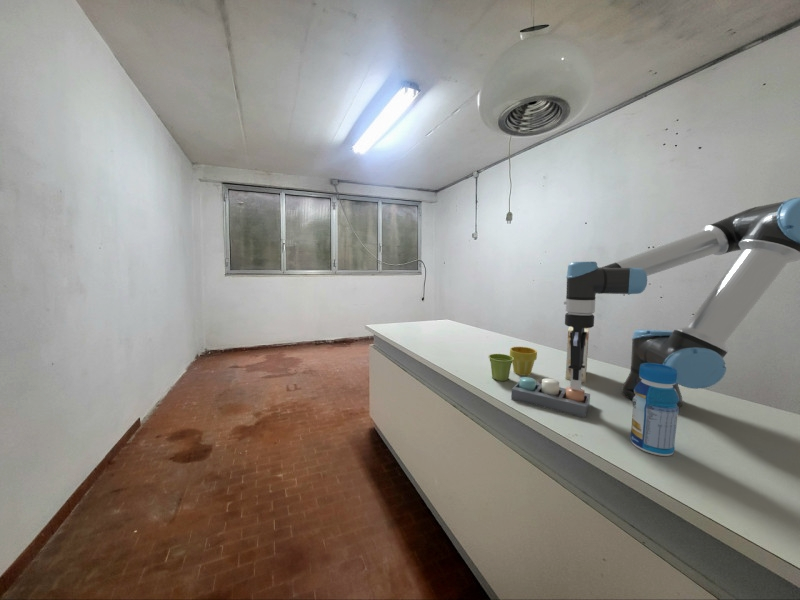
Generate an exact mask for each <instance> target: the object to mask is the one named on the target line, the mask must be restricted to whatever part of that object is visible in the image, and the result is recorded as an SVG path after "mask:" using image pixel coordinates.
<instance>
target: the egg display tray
mask: <svg viewBox="0 0 800 600" xmlns="http://www.w3.org/2000/svg"><path fill="white" fill-rule="evenodd" d="M519 384H520V380H519V381H518V382H517V383H516V384H515V385H514V386H513V387H512V388H511V396H510V397H511V398H510V399H511V400H513V401H518V402H520V403H525V404H528V405H529V404H530V405H533V406H536V407H541V408H544V409H548V410H552V411H556V412H561V413H564V414H567V415H572V416H576V417H580V418H583V419H585V418H586V416H587V413H588V410H589V408H590V401H591V393H587V392H585V395H584V403H583V402H578V401H574V400H570V399H565V397H566V387H560V386H559V396H558V397H557V396H552V395H548V394H544V393H541V391H542V382H541V383H540V382H536V387H535V391H531V390H526V389H522V388H519Z"/></svg>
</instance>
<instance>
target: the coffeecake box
mask: <svg viewBox="0 0 800 600" xmlns="http://www.w3.org/2000/svg"><path fill="white" fill-rule="evenodd" d="M589 329H590V328H584V332H587V337H586V340H585V346H584V356H583V364H582V365H583V366H585V368H581V369H582V381H581V383H586V381H587V366H588V350H589V335H590V334H589V332H590V331H589ZM572 331H573V327H569V326H568V329H567V343H566V344H567V345H566V346H567V348H566V364H565V377H564V378H565V380H570V381H571V368H569V366H570V365H571V344H570V339H571V338H570V332H572Z"/></svg>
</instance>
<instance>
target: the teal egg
mask: <svg viewBox="0 0 800 600" xmlns="http://www.w3.org/2000/svg"><path fill="white" fill-rule="evenodd" d="M519 381H520V384H519V388H522V389H526V390H531V391H535V387H536V381H537V380H536V379H534V378H532V377H526V376H522V377H520V378H519Z"/></svg>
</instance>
